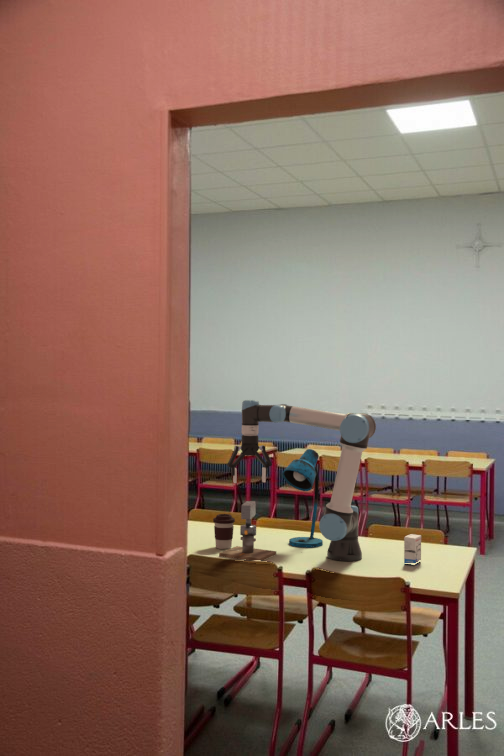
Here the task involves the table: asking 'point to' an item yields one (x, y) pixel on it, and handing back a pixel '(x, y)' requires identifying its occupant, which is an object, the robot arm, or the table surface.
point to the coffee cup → (223, 530)
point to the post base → (247, 556)
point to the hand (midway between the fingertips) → (249, 482)
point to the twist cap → (248, 518)
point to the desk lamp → (302, 479)
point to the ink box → (412, 548)
